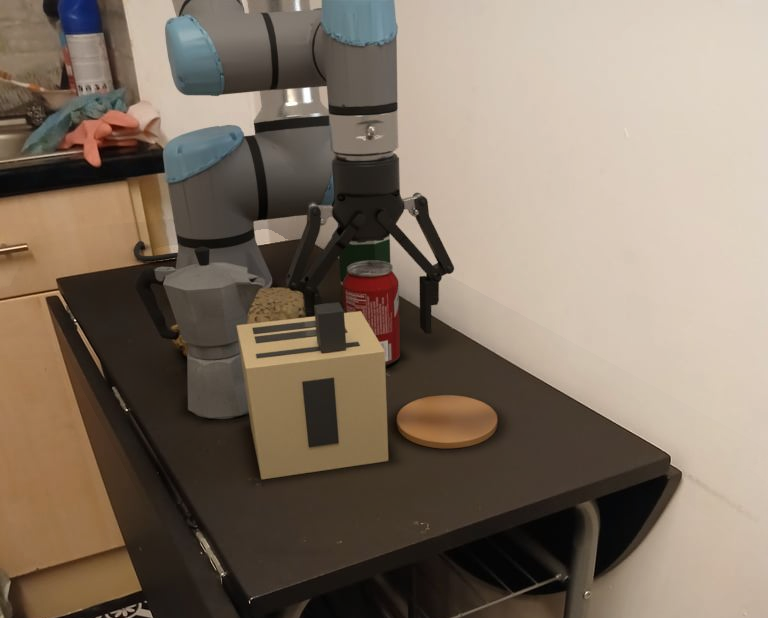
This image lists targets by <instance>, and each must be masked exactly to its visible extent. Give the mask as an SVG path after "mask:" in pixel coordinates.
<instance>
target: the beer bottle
mask: <svg viewBox="0 0 768 618" xmlns="http://www.w3.org/2000/svg"><path fill="white" fill-rule="evenodd" d="M338 226H339V224H338V223H337V227H338ZM390 236H391V234H389V236H388V237H386V238H385V239H384V240H382V241H375V240H369V241H366V242H363V243H358V242H356V241H353V240H351V241H350V243H349V244H348V246H347V247H346V248H345V249H343V251H342V252H341V253H340V255H339V256H338V264H339V265H338V266H339V277H340V278H339V280H340V294H341V307H342V309H343V310H344V296H343V281H344V279H345V277H346V276H347V274H348V272H347V267H348V266H349V265H350V264H353V263H355V262H360V261H367V260H378V261H385V262H388V263H390V264H391V237H390ZM344 313H345V312H344Z"/></svg>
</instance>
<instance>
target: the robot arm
mask: <svg viewBox="0 0 768 618" xmlns="http://www.w3.org/2000/svg"><path fill="white" fill-rule="evenodd" d="M310 1H311V0H246V2H247V9H248V13H247V12H245V6H244V3H243V0H171V3H172V5H173V10H174V13H175V17H170V18H169V19H167V20H166V23H165V25H164V37H165V45H166V52H167V59H168V62H169V66H170V67H169V68H170V72H171V73H170V74H171V77H172V80H173V81H172V82H173V84H174V86H175V88H176V90H178V92H179V93H180V94H182V95H184V96H211V97H219V96H221V95H223V96H225V95H234V94H244V93H254V92H259V97H260V104H261V107H260V111H259V112H258V113H257V115H256V116H255V118H254V119H253V128H254V134H252V135H245V133H244V131H243V130H242V128H241V127H240V125H235V124H226V125H225V124H224V125H214V126H209V127H204V128H200V129H195V130H192V131H189V132H186V133H182V134H180V135H178V136H175V137H174V138H172V139H170V140H169V141H168V142H167V143H165V146H164V147H163V151H162V159H163V166H164V181H165V183H167V189H168V194H169V200H170V208H171V212H172V219H173V224H174V225H173V226H174V230H175V236H176V242H177V247H178V248H177V252H171V253H164V254H156V255H142V254H141V253H140V250H145V249H146V244H145V242H144V241H142V240H139V241H137V242H136V243H135V246H134V248H133V256H134V257H135V259H136V260H137V261H140V262H160V261H167V260H173V259H176V262H175V263H176V264H175V269H176V270H178V269H181V268H184V267H187V266H190V265H193V264H199V262H198V260H197V257H196V254H195V251H194V250H195V249H196V248H199V247H207V248H210V251H209V263H220V262H226V263H230V264H234V265H238V266H242V267H247V268H248V273H249V274H252V275H256V276H259V277H258V278H262V279H263V280H264V282H265V286H264V287H262V288H260V289H266V288H274V283H273V277H272V275H271V272H270V270H269V268H268V266H267V263H266V261H265V259H264V256H263V254H262V252H261V250H260V247H259V245H258V243H257V240H256V234H255V224H254V223H255V222H259V221H266V220H275V219H283V218H292V217H300V216H306V224H305V226H304V229H303V232H302V234H301V237H300V239H299V242H298V245H297V249H296V250H295V253H294V255H293V259H292V261H291V264H290V267H289V270H288V272H287V275H286V277H285V282H286V286H287V287H288V289H290V290H291V291H299V292H301V293H302V294H303V304H304V313H305V315H306V317H314V316H315V310H314V305H319V304H322V295H321V293H320V290H319V288H318V286H319V285H321V283H322V281H323V280H324V278H325V276H326V275H327V273H328V272H329V271H330V269H331V268H332V266H333V265H334V264H335V262H336V261H337V259H339V255H340V253H341V252H342V251H343V249H345V248H346V247H347V246H348V244H349V243H350V241H351V240H353V241H356V242H358V243H363V242H366V241H369V240H375V241H382V240H384V239H385V238H386V237H388V236H389V234H390V236H392V238H393V239H394V240H395V241H396V242H397V243H398V244H399V246H400V247H401V248H402V249H403V250H404V251H405V252H406V253H407V255H409V256H410V257H411V259H412V260H413V262H415V263H416V264H417V265H418V266H419V268H420V269H421V270H422V271H423V272H424V273H425V274H426V275H420V276H419V283H418V284H419V328H420V329H421V330H422V332H423V333H424V334H425V335H431V334H432V306H438V304H439V301H440V282H441V281H442V278H443V276H445V275H450V274H452V273H454V272H455V266H454V264H453V261H452V260H451V257H450V255H449V254H448V252H447V249H446V248H445V246H444V244H443V241H442V239H441V237H440V235H439V234H438V233H439V232H438V231H437V228H436V227H435V225H434V223H433V221H432V218H431V216H430V210H429V202H428V198H427V197H426V196H424V195H423V194H422V193H420V192H415V193H413V194H412V196H408V197H404V198H402V196H401V187H400V186H401V181H400V180H401V179H400V178H401V177H400V176H401V175H400V157H399V156H398V155H397V154H396V153H394V152H396V151H397V150H398V148H399V147H400V145H399V143H400V142H399V115H398V114H399V113H398V112H399V111H398V108H399V107H398V106H399V105H398V104H399V103H398V101H399V100H398V45H397V43H398V42H397V41H398V40H397V36H398V32H399V31H398V30H399V26H398V23H397V16H396V6H395V0H321V7H318V8H317V7H316V8H313V9H311V2H310ZM321 87H326V92H327V93H326V94H327V95H326V96H327V107H328V108H327V107H326V106H325V105H324V104H323V102H322V101H321V91H320V88H321ZM405 210H407V212H408V213H409V215H411V216H412V217H414V218H415V220H416V222H417V225H418V226H419V228H420V230H421V232H422V234H423V236H424V239H425V240H426V242H427V244H428V247H429V248H430V250H431V252H432V254H433V256H434V259H435V260H436V262H437V263H435V264H433V263H431V262H430V261H429V259H428V258H427V257H426V256H425V255H424V254H423V253H422V251H421V250H419V248H418V247H417V246H416V244H414V243H413V242H412V241H411V239H410V238H409V237H408V235H406V234H405V232H404V231H403V230H402V229H401V228H400V227H399V226H398V225H397V223H398V221H399V220H400V219H401V217H402V215H403V213H404V212H405ZM330 217H332V218H333V219H334V221H336V223H337V227H336V228H335V230H334V232H333V233H332V234H331V238H330V240H329V241H328V242H327V244H326V245H325V247H323V250H322V251H321V252H320V254H319V255H318V257H317V258H316V260H315V261H314V263H313V264H312V266H311V267H310V269H309V270H308V271H307V273H306V274H305V271H306V269H307V266H308V263H309V261H310V258H311V255H312V253H313V250H314V248H315V245H316V243H317V239H318V237H319V235H320V231H321V226H324V225H326V224H327V221H328V219H329V218H330ZM338 224H339V226H338ZM304 274H305V276H304Z"/></svg>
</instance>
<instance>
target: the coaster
mask: <svg viewBox="0 0 768 618" xmlns="http://www.w3.org/2000/svg"><path fill="white" fill-rule="evenodd" d="M396 428H397V431H398V432H399V434H401V435H402V437H404V438H405V439H406V440H408V441H410V442H411V443H414V444H417V445H419V446H423V447H427V448H432V449H445V450H446V449H449V450H450V449H460V448H461V449H463V448H467V447H471V446H475V445H479V444H480V443H483V442H486V441H487V440H488V439H489V438H491V437H492V436H493V435H494V434H495V432H496V430H497V428H498V415H497V412H496V411H495V410H494V409H493V407H491V406H490V405H488V404H487V403H485V402H484V401H481V400H478V399H476V398H472V397H468V396H462V395H453V394H451V395H450V394H442V395H441V394H440V395H431V396H427V397H426V396H425V397H422V398H418V399H415V400H413V401H411V402H409V403H407V404H406V405H404V406H403V407H402V408H400V410H399V411H398V413H397V414H396Z"/></svg>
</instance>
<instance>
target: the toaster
mask: <svg viewBox="0 0 768 618" xmlns="http://www.w3.org/2000/svg"><path fill="white" fill-rule="evenodd" d="M344 319H345V335H346V350H339V351H331V352H323V353H322V352H321V350H320V348H319V346H318V343H317V333H316V322H315V316H314V317H305V318H296V319H288V320H279V321H270V322H261V323H253V324H244V325H237V333H238V340H239V347H240V354H241V361H242V368H243V375H244V382H245V389H246V395H247V402H248V409H249V413H248V414H249V415H248V416H249V422H250V429H251V434H252V440H253V444H254V450H255V455H256V459H257V464H258V469H259V474H260V480H262V481H263V480H269V479H276V478H282V477H290V476H295V475H296V476H297V475H303V474H309V473H310V474H311V473H316V472H317V473H318V472H323V471H329V470H330V471H331V470H337V469H342V468H343V469H344V468H350V467H357V466H364V465H365V466H366V465H371V464H378V463H384V462H389V437H388V435H389V434H388V407H387V405H388V404H387V378H386V377H387V375H386V366H385V351H384V349H383V348H382V346H381V344H380V343H379V341H378V339H377V337H376V336H375V334H374V332H373V331H372V329H371V327H370V326H369V324H368V322H367V321H366V319H365V317H364V316H363V314H362V312H361V311H358V312H349V313H344Z"/></svg>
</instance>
